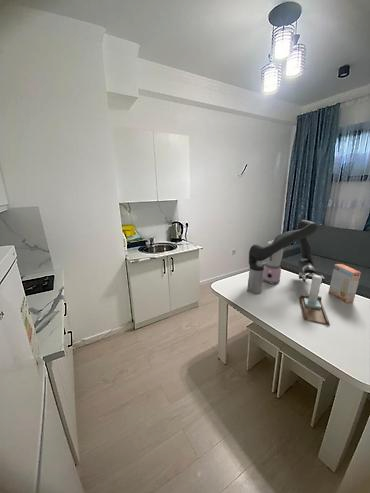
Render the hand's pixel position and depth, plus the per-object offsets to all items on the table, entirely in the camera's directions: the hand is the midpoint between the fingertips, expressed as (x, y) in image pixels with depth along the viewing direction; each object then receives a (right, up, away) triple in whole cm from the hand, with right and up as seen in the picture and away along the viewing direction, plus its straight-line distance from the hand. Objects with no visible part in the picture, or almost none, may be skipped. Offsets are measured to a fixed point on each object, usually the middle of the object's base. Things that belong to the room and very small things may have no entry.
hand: (312, 281), depth 130 cm
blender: (-16, -5, +27) cm, 32 cm away
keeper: (-3, -13, -4) cm, 14 cm away
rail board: (-5, -15, -8) cm, 18 cm away
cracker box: (+21, -11, +5) cm, 24 cm away
